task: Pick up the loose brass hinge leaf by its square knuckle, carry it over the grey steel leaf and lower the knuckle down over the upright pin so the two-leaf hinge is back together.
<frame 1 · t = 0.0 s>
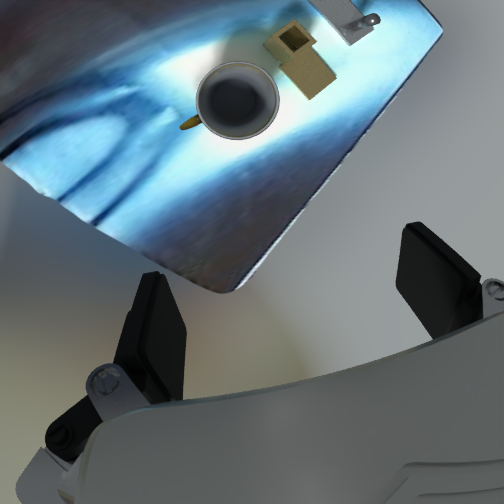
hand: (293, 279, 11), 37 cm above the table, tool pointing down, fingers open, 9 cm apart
ceramic cup: (225, 103, 40), on the table
steel leaf with pin: (352, 27, 34), on the table
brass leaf: (283, 46, 36), on the table
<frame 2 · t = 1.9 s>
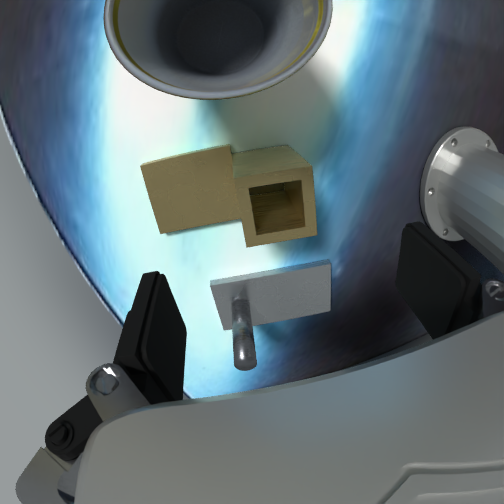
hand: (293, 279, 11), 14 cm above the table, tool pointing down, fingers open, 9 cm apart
ceramic cup: (223, 20, 16), on the table
steel leaf with pin: (240, 300, 29), on the table
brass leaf: (263, 175, 23), on the table
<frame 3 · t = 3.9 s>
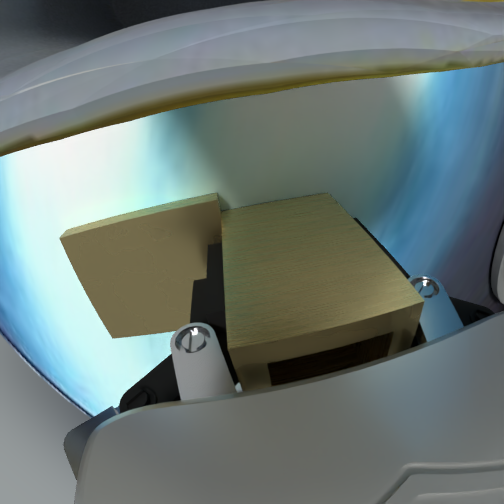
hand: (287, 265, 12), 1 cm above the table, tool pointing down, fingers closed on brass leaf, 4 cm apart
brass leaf: (281, 248, 13), on the table, touching gripper
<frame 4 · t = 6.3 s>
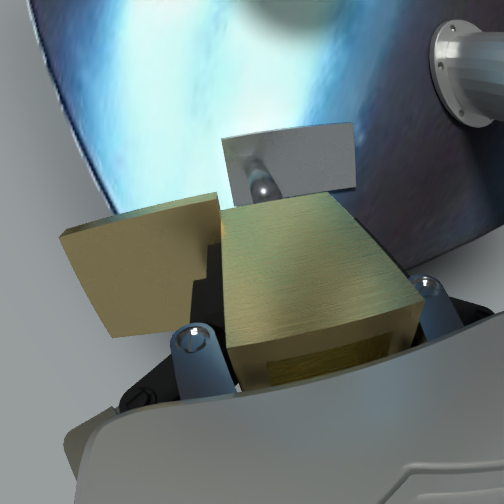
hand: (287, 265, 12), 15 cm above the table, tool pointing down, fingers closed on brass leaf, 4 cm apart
steel leaf with pin: (254, 166, 25), on the table
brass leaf: (281, 247, 13), point 14 cm above the table, touching gripper
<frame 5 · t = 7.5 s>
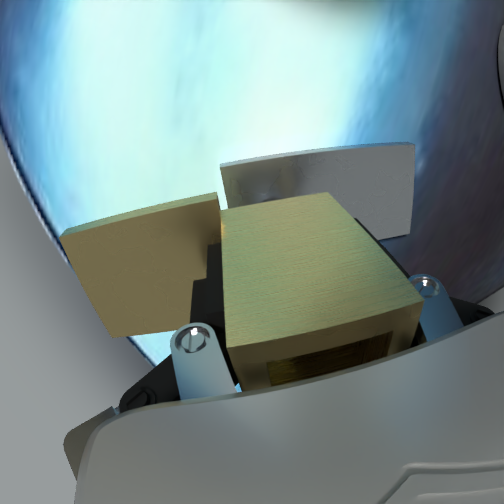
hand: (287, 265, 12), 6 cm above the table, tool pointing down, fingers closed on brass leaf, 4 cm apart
steel leaf with pin: (270, 207, 16), on the table
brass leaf: (281, 247, 13), point 4 cm above the table, touching gripper
when the fingers open (3 cm above the table, at t = 8.7 s): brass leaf stays where it is, resting on steel leaf with pin.
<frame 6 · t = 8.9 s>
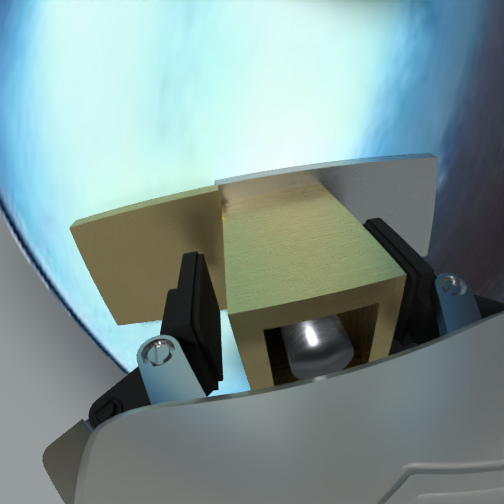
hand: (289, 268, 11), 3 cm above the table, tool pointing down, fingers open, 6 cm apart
steel leaf with pin: (274, 230, 14), on the table
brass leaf: (278, 236, 14), point 1 cm above the table, touching steel leaf with pin
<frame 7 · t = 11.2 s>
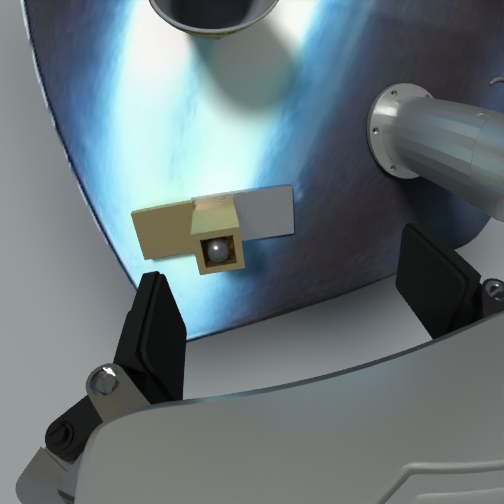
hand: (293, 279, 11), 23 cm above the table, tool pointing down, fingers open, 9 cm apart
ceramic cup: (215, 1, 21), on the table
steel leaf with pin: (215, 218, 34), on the table
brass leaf: (216, 221, 33), point 1 cm above the table, touching steel leaf with pin
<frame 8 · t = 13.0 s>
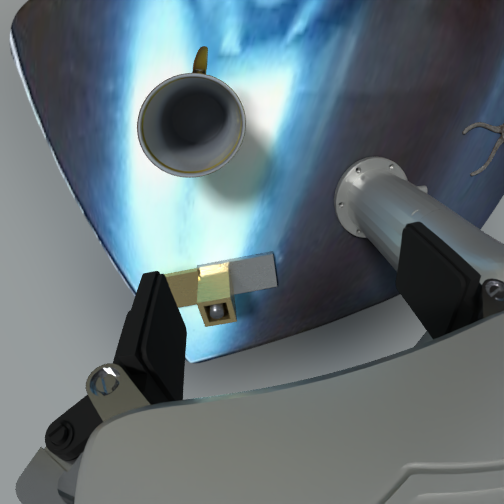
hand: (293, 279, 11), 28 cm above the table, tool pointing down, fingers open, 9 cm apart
pliers: (491, 131, 36), on the table
ceramic cup: (199, 106, 32), on the table
steel leaf with pin: (216, 278, 45), on the table
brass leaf: (216, 281, 44), point 1 cm above the table, touching steel leaf with pin
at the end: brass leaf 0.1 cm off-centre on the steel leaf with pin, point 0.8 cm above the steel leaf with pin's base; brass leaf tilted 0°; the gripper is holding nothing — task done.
